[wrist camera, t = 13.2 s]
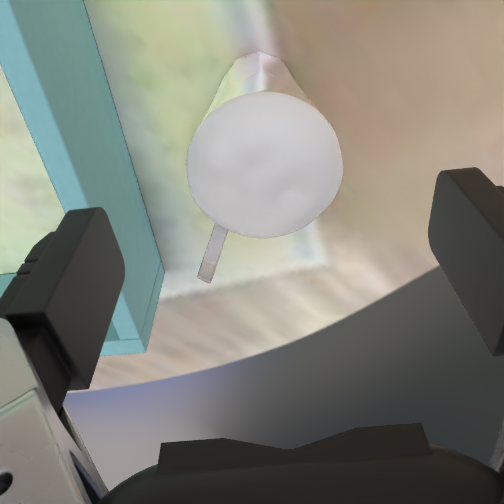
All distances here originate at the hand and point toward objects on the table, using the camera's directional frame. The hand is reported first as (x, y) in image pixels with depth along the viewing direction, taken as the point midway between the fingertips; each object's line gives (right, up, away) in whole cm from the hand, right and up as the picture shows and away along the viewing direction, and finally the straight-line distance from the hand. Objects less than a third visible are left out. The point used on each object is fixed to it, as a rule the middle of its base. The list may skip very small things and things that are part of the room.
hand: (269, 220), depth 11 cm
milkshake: (0, +6, +9) cm, 11 cm away
